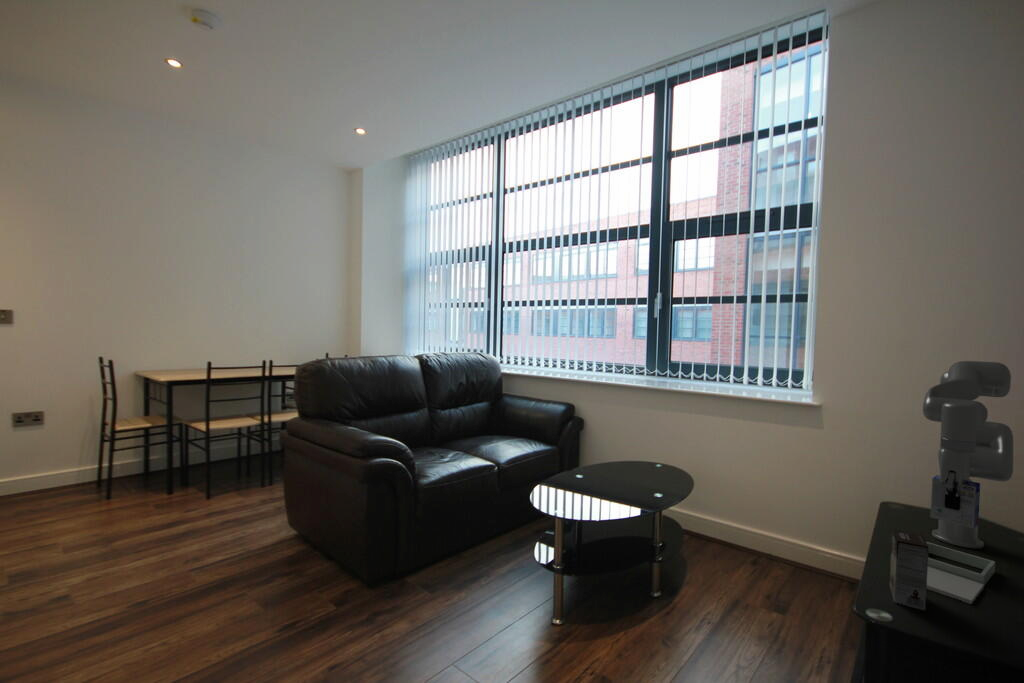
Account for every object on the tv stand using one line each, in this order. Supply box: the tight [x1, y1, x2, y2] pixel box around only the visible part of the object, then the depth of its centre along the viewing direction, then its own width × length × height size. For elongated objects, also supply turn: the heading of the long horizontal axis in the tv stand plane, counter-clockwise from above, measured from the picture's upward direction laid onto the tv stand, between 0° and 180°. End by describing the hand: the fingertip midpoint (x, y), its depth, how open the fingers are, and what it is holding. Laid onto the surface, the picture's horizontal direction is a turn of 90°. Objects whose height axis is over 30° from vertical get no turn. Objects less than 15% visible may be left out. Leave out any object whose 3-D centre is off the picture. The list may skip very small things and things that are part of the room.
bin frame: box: [926, 541, 996, 586], centre depth 139 cm, size 15×16×3 cm
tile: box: [926, 567, 985, 605], centre depth 129 cm, size 14×14×1 cm
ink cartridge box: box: [929, 474, 981, 528], centre depth 139 cm, size 10×6×14 cm, turn 37°
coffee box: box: [889, 528, 929, 611], centre depth 121 cm, size 9×6×16 cm
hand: (954, 505), depth 139 cm, fingers closed on ink cartridge box, 5 cm apart
